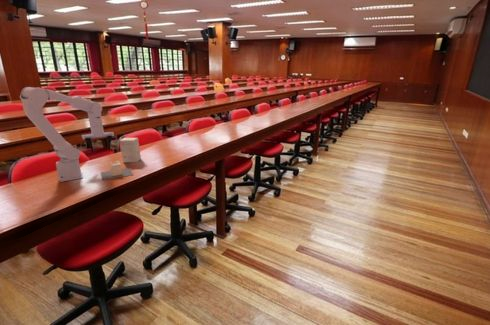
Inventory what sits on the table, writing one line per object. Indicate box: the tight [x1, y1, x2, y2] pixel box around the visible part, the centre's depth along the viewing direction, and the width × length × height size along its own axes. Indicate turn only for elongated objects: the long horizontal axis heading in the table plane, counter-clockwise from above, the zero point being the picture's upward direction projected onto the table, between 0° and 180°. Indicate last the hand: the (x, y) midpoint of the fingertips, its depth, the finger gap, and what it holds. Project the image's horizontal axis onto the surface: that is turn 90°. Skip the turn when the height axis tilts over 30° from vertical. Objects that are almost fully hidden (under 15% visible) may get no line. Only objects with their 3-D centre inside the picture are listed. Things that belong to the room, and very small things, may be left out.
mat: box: [100, 167, 134, 181], centre depth 138 cm, size 14×12×1 cm
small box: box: [119, 137, 142, 163], centre depth 156 cm, size 8×6×13 cm
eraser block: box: [109, 160, 122, 176], centre depth 137 cm, size 4×6×6 cm
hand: (101, 150), depth 144 cm, fingers open, 7 cm apart
